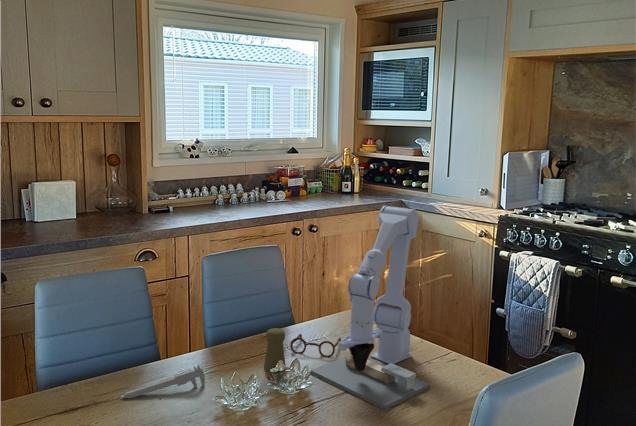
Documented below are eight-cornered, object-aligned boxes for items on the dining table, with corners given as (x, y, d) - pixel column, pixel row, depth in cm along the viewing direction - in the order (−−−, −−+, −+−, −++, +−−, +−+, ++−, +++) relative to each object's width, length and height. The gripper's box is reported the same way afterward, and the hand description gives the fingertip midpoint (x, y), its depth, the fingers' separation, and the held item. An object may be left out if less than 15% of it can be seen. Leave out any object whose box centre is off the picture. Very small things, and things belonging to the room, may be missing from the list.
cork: (282, 373, 163) (283, 335, 162) (260, 371, 165) (261, 332, 163) (288, 364, 169) (289, 327, 167) (267, 362, 170) (267, 324, 169)
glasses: (289, 354, 178) (290, 338, 177) (300, 338, 190) (301, 322, 189) (334, 359, 175) (334, 343, 174) (341, 342, 187) (342, 327, 187)
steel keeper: (380, 382, 158) (381, 367, 158) (390, 377, 161) (391, 363, 160) (405, 393, 153) (406, 377, 152) (414, 388, 155) (415, 373, 155)
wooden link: (343, 365, 167) (343, 351, 167) (354, 360, 170) (354, 347, 170) (385, 384, 157) (386, 369, 156) (396, 379, 160) (397, 365, 159)
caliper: (203, 386, 155) (203, 363, 154) (204, 388, 154) (204, 364, 153) (120, 398, 148) (119, 374, 147) (120, 400, 147) (120, 375, 146)
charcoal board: (355, 356, 177) (355, 352, 176) (429, 387, 158) (429, 384, 158) (310, 373, 164) (310, 370, 164) (385, 409, 146) (385, 406, 146)
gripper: (353, 330, 149) (351, 382, 151) (392, 318, 158) (389, 367, 161) (333, 322, 154) (331, 372, 156) (372, 310, 163) (370, 358, 166)
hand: (359, 369), depth 159 cm, fingers closed
